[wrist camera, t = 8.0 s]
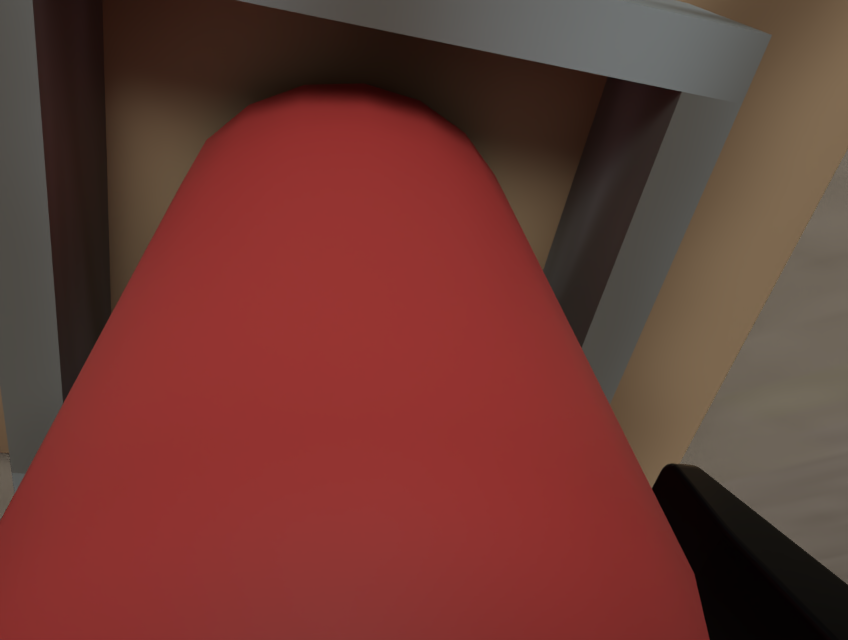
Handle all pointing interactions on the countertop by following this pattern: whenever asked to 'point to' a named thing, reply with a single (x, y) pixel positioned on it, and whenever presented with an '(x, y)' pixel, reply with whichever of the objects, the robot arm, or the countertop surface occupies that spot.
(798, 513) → the countertop surface
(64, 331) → the can holder
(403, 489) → the beer can
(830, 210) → the countertop surface
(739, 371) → the countertop surface
